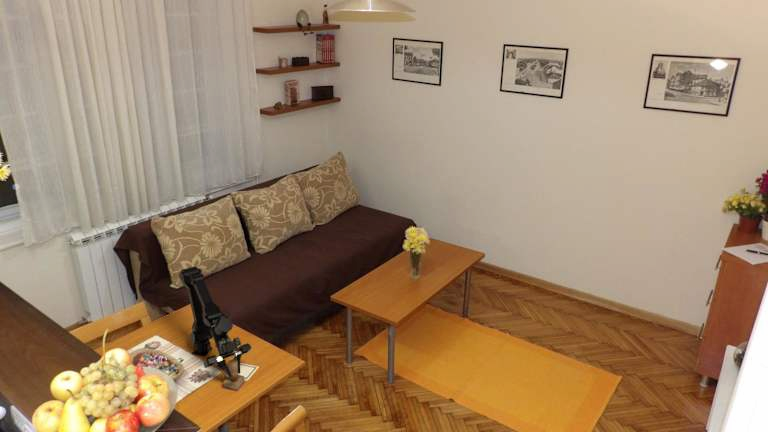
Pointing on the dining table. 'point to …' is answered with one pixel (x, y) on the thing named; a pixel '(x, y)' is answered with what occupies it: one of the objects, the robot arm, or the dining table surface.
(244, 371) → the marked board
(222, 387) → the ink pad
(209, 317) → the robot arm
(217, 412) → the dining table surface
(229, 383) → the stamp
